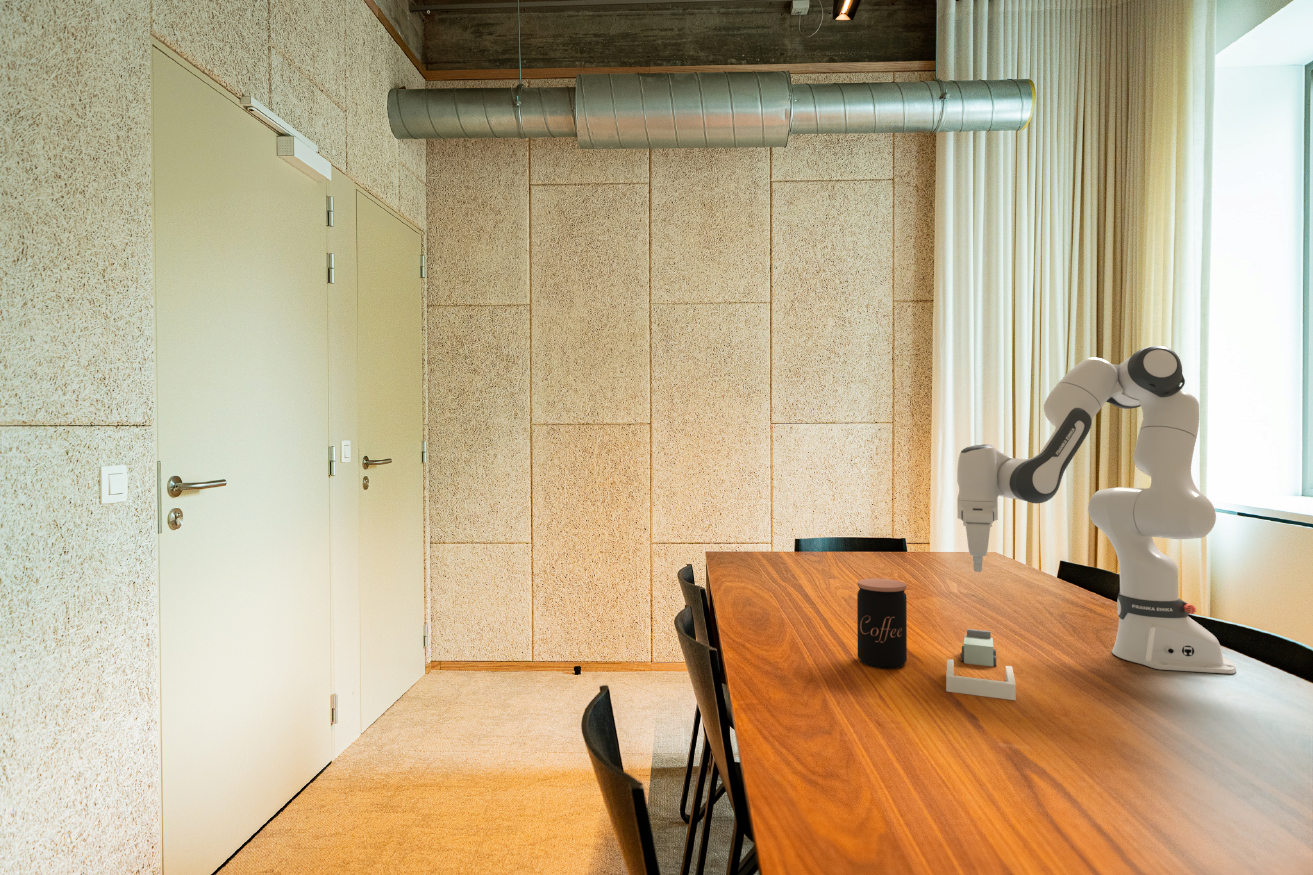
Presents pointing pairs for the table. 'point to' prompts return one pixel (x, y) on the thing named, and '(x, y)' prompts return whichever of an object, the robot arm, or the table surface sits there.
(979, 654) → the sage cart
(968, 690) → the dock bay
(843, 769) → the table surface
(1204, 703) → the table surface
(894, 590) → the coffee jar
